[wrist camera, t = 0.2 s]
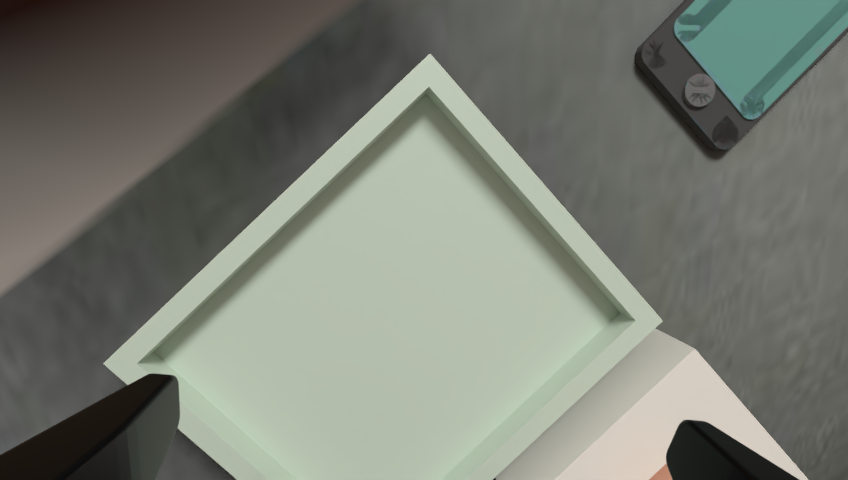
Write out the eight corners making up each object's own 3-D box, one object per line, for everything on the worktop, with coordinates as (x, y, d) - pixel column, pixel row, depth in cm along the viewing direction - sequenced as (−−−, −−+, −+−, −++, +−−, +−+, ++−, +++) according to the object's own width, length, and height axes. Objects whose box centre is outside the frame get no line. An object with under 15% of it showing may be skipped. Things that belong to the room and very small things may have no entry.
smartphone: (638, 51, 22) (855, -171, 22) (625, 59, 24) (830, -152, 23) (729, 157, 23) (938, -53, 23) (712, 159, 25) (910, -41, 24)
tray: (370, 554, 25) (369, 594, 22) (133, 344, 22) (103, 363, 20) (634, 307, 25) (662, 320, 22) (424, 68, 22) (429, 53, 20)
